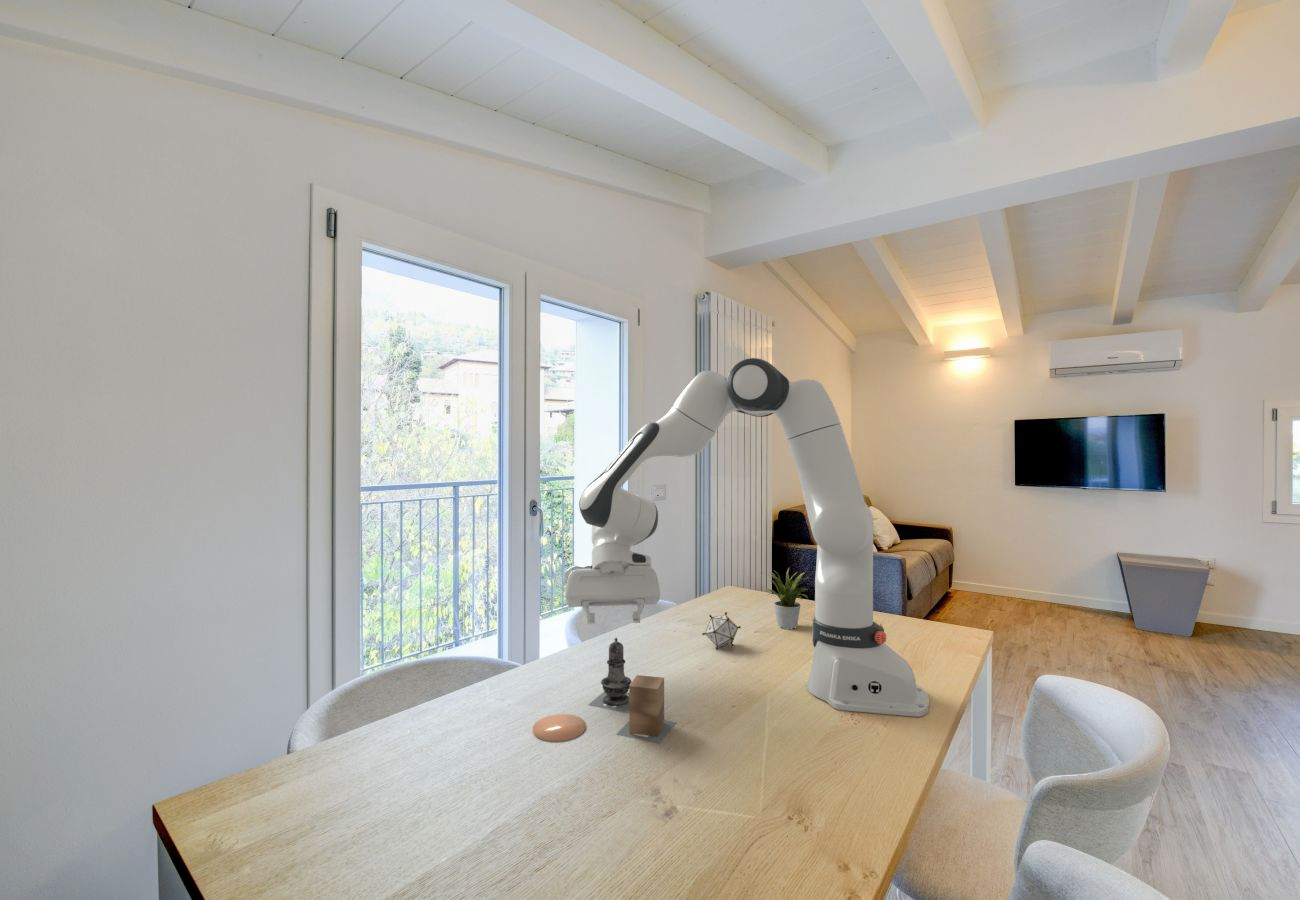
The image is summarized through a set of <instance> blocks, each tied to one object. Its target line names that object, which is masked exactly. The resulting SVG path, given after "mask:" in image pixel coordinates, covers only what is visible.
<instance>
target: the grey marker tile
mask: <svg viewBox="0 0 1300 900" xmlns="http://www.w3.org/2000/svg"><path fill="white" fill-rule="evenodd" d="M606 695H607V694H606V693H605V692H604V691H603V692H602V693H600V694H599V695H597V697H595V698H594V699H593V700H592V701H591V702H589V703H588V704H587V706H591V707H595V708H601V709H607V710H610V711H611V710H612V711H616V712H620V713H628V712H629V702H628V703H627V704H625V705H621V706H610V705H607V704H605V703H603V698H604V697H605V696H606ZM626 695H627V696H628V697H629V692H627V693H626Z"/></svg>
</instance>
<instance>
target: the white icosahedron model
mask: <svg viewBox="0 0 1300 900" xmlns="http://www.w3.org/2000/svg"><path fill="white" fill-rule="evenodd" d="M709 618H710V619H709V623H708V625H707V627H706V630H705V632H702V633H701V635H702V636H707V638H708V639H709V640H710V641H711V642H712V643H713V644H714V645H715V646H716V647H715V650H716V649H717V650H719V647H723V646H724V647H725V646H729V645H731V647H733V646H734V647H735V644H733V643H734V640H735V637H736V635H737V632H738V629H741V628H742V626H740V625H739V626H738V625H737V624H736V623H734V622H733V620H732V619H731V618H730V617H729V616H728V612H727V611H726V612H724V614H723V615H722V614H721V615H715V616H712V615H711V614H709Z"/></svg>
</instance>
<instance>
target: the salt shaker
mask: <svg viewBox="0 0 1300 900" xmlns="http://www.w3.org/2000/svg"><path fill="white" fill-rule="evenodd" d="M625 663H626V660H625V659H624V644H623V643H621V642H619V640H618V638H617V637H615V638H614V641H613V642H611V643H610V644H609V647H608V660H607V661H606V664H608V673H607V676H605V677H604V678H602V679H601V681H600V684H601V685H602V689H603V692H605V693H606V694H607V695H606V696H605V697H604V698H603V703H605V704H607V705H610V706H621V705H625V704H627V703H628V702H629V697H628V696H627V695H626V693H629V686H630V685H631V683H632V679H631V678H630V677H628V676H626V675H625Z"/></svg>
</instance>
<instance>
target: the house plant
mask: <svg viewBox="0 0 1300 900" xmlns="http://www.w3.org/2000/svg"><path fill="white" fill-rule="evenodd" d="M790 567H791V566H789V567H788V568H787V570H786V572H785V575H786V576H785V585H784V583H783V581H782V579H781V576H780V575H779V573H778V572H777V571H776V570H772V571H774V573H773V572H772V571H770V573H769V574H770V575H771V576H772V577H771V576H770V575H768V576H769V577H770V579H771V582H772V583H773V585H774V586H775V588H776V590H777V592H778V593H777V592H776V591H775V590H774V589H770V588H768V589H766V590H765V592H769V593H767V594H768V595H769V594H771V595H772V594H773V595H776V596H777V597H778V599H779V600H777V601H775V602H774V604H773V605H774V609H775V617H776V623H777V627H778V626H780V627H783V628H795V627H797V628H798V622H799V615H800V609H801V603H799V602H797V601H796V600H797V599H800V600H801V601H802V600H803V597H805V598H806V599H807V600H809V597H808V595H807V594H805V593H802V592H804V591H809V588H806V587H799V588H797V587H798V586H799V583H800V582H801V580H802V581H803V580H805V579H809V578H810V577H806V578H803V579H802V577H803V575H805V573H806V571H805V572H802V573H800V574H799V575H797V577H796V578H795V579H794V580H792V578H793V577H794V576H795V575H796V574H797V572H795V573H794V574H793V575H792V576H791V578H790V576H789V571H790ZM760 573H762V574H763V572H761V571H760ZM775 573H776V574H777V576H778V577H777V576H776V574H775ZM772 578H773V579H772ZM800 595H801V596H800ZM802 596H803V597H802Z"/></svg>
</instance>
